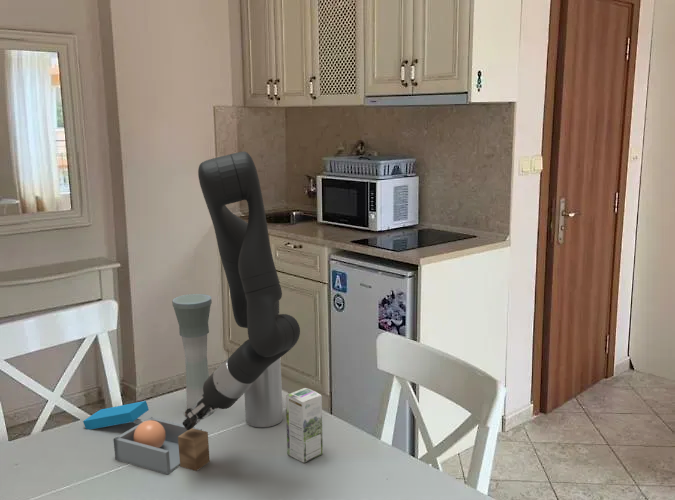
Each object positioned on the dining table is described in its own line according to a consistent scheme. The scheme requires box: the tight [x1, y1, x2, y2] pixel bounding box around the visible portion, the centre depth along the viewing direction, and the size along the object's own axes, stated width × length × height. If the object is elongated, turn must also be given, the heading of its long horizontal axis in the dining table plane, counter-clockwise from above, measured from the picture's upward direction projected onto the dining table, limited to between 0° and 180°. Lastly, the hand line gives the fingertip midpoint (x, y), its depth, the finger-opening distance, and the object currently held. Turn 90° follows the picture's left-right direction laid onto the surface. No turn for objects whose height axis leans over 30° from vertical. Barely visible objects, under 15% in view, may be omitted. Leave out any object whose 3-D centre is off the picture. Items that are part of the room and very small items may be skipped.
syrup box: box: [285, 387, 324, 464], centre depth 149 cm, size 6×6×14 cm
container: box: [171, 293, 213, 417], centre depth 171 cm, size 10×10×30 cm
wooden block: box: [178, 428, 211, 472], centre depth 147 cm, size 4×4×7 cm
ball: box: [133, 420, 166, 448], centre depth 153 cm, size 7×7×7 cm
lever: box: [82, 400, 150, 430], centre depth 166 cm, size 7×7×18 cm
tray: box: [112, 416, 203, 475], centre depth 152 cm, size 15×12×5 cm
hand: (186, 425), depth 147 cm, fingers closed
